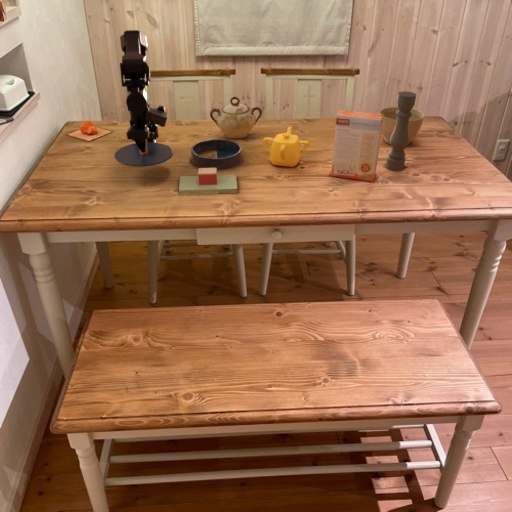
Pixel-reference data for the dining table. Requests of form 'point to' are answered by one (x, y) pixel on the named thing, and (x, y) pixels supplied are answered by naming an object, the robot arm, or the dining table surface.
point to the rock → (89, 131)
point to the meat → (207, 176)
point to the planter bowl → (391, 119)
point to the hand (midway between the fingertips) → (143, 150)
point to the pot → (226, 154)
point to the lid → (144, 154)
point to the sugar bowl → (236, 119)
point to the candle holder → (400, 131)
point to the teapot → (285, 149)
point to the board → (223, 185)
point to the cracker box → (356, 145)
